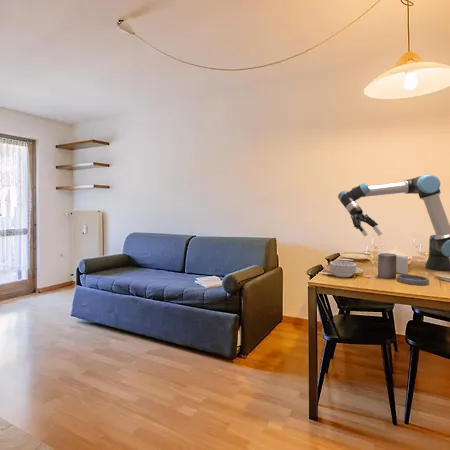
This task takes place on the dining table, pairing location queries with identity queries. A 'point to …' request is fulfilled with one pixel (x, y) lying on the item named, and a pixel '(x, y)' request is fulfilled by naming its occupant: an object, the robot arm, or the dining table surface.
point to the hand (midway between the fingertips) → (373, 234)
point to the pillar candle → (387, 265)
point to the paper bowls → (342, 268)
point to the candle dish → (413, 279)
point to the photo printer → (401, 263)
